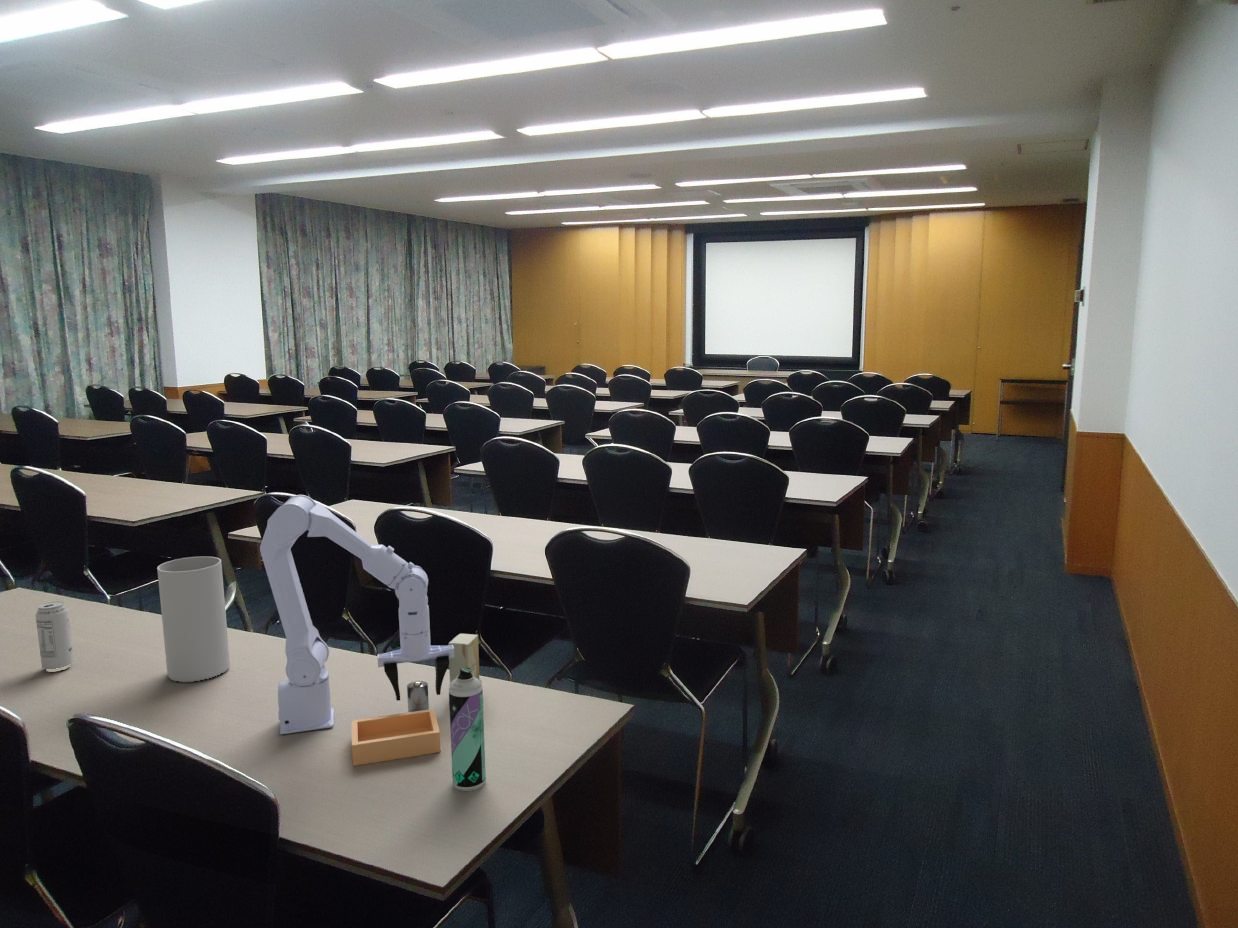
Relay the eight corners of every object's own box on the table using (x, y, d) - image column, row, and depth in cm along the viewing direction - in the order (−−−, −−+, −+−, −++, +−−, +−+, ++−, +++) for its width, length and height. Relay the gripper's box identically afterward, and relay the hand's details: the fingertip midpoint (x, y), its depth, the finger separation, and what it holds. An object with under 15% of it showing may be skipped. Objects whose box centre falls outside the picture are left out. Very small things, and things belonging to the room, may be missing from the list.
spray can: (454, 774, 142) (449, 663, 139) (487, 772, 142) (483, 661, 139) (450, 792, 136) (445, 676, 133) (484, 790, 137) (480, 675, 134)
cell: (409, 719, 162) (407, 687, 161) (407, 710, 166) (406, 679, 165) (430, 716, 163) (428, 684, 162) (428, 708, 167) (426, 676, 166)
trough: (353, 765, 145) (351, 745, 144) (352, 739, 154) (351, 720, 154) (440, 751, 149) (439, 732, 149) (435, 727, 159) (434, 708, 158)
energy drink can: (79, 666, 190) (72, 603, 187) (50, 675, 185) (42, 610, 182) (66, 661, 193) (59, 598, 191) (37, 669, 188) (29, 606, 186)
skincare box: (469, 701, 170) (467, 644, 168) (449, 700, 171) (447, 643, 169) (480, 688, 176) (479, 633, 174) (461, 687, 177) (459, 632, 175)
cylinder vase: (234, 674, 184) (225, 565, 180) (171, 688, 177) (160, 575, 173) (225, 657, 194) (216, 553, 191) (164, 669, 188) (154, 562, 184)
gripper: (450, 618, 168) (453, 682, 170) (375, 627, 164) (379, 692, 166) (454, 630, 161) (457, 696, 163) (376, 639, 157) (380, 707, 159)
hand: (418, 695), depth 164 cm, fingers open, 7 cm apart
